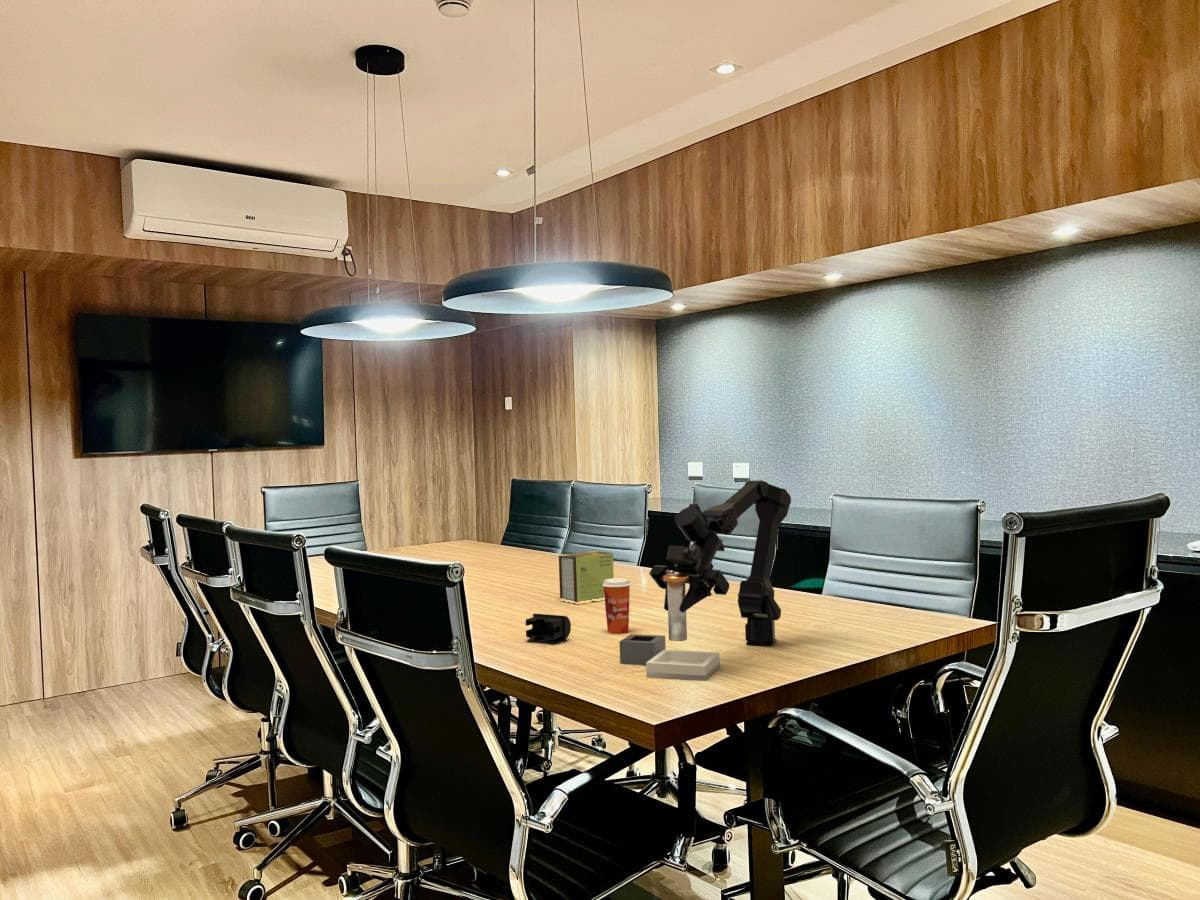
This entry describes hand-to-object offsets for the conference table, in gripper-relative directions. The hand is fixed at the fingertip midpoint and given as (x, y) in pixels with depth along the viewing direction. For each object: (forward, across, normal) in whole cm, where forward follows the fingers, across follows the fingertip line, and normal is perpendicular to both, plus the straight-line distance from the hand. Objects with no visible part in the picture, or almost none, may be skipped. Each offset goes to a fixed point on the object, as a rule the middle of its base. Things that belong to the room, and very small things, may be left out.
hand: (673, 610), depth 194 cm
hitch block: (+6, -13, +12) cm, 19 cm away
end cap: (+5, -47, +15) cm, 50 cm away
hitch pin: (+4, 0, +6) cm, 7 cm away
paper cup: (-9, -40, +28) cm, 49 cm away
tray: (+9, +1, +10) cm, 13 cm away
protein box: (-32, -83, +52) cm, 103 cm away
